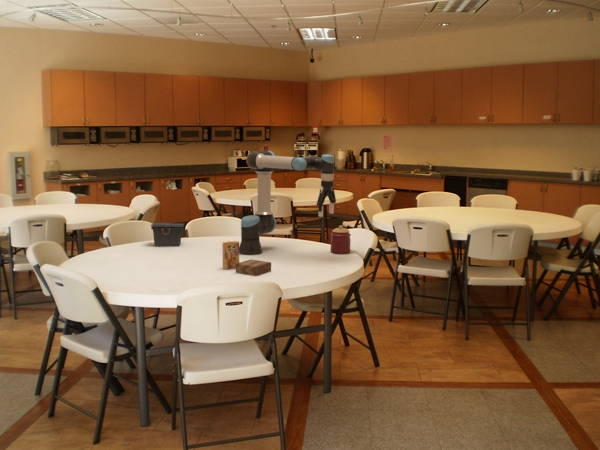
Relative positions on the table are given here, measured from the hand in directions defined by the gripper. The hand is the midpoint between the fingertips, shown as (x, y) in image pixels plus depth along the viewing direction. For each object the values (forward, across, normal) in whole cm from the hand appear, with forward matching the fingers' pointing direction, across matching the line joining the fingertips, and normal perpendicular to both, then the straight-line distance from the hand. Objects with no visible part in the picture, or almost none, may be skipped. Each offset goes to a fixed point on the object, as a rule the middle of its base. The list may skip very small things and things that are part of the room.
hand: (326, 215), depth 382 cm
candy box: (+27, -53, +32) cm, 68 cm away
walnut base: (+26, -54, +16) cm, 62 cm away
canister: (+28, +22, 0) cm, 35 cm away
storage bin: (+31, -22, +109) cm, 115 cm away
